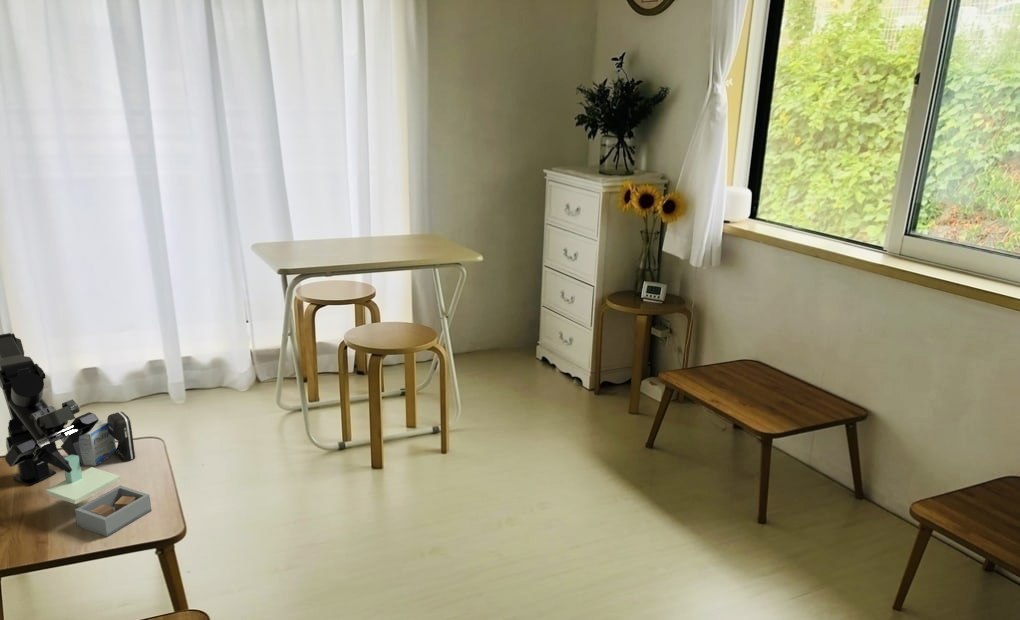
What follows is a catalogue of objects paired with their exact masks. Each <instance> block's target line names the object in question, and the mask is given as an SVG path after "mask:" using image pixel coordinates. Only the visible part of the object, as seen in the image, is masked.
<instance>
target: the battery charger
mask: <svg viewBox="0 0 1020 620" xmlns="http://www.w3.org/2000/svg"><path fill="white" fill-rule="evenodd" d="M106 421H107V424H108V432H109V433H110V435H112V436H113V437H114V438H115V441H117V445H116V451H115V453H114V455H115V456H116V457H117V458H118V459H119V460H120V461H121V462H126V461H132V460H134V459H135V458H136V453H135V444H134V437H133V436H134V435H133V431H132V430H133V429H132V423H131V420H130V417H129V416H128V415H127V414H125V412H123V411H117V412H115V413H111V414H109V415H108V416H107V419H106Z"/></svg>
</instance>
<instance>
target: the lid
mask: <svg viewBox="0 0 1020 620" xmlns="http://www.w3.org/2000/svg"><path fill="white" fill-rule="evenodd" d="M64 459H65V460H66V461H67V463H68V464H69V465H70V467H71V469H72V471H71V472H70V473H68V472H66V471H64V470H63V472H64V477H65V480H63V481H61V482H59V483H57V484H55V485H53V486H51V487H48V488H46V489H45V492H46V495H48V496H51V497H54V498H57V499H59V500H63V501H65V502H68V503H71V504H74V505H77V504H80V503H81V502H83V501H84V500H86V499H89V498H90V497H92V496H93V495H96V494H98V493H99V492H101V491H103V490H105V489H106V488H109V487H111V486H112V485H114V484H116V483H118V482H120V481H121V480H122V479H121V475H119V474H115V473H111V472H108V471H105V470H103V469H100V468H95V467H93V466H91V467H89V468H88V469H87V468H86V469H84V470H82V467H80V462H79V456H77V455H74V454H71V455H67V456H65V457H64Z"/></svg>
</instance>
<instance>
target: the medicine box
mask: <svg viewBox="0 0 1020 620" xmlns="http://www.w3.org/2000/svg"><path fill="white" fill-rule="evenodd" d="M79 447H80V451H81V455H82V459H83V463H84V465H85V466H95V467H96V466H97V465H100V462H101V463H102V462H103V460H104V459H105V460H106V459H108V458H109V457H111V456H112V455H113V454H115V451H116V448H117V443H116V439H115V438H114V437H113V436H112V435H110V433H109V432H108V424H107V419H106V420H104V419H99V421H98V422H97V423H96V424H95V426H94V427H93V428H92V429H91V431H89V432H88V433H86V434H84V435H82V436H79ZM110 455H111V456H110ZM107 457H108V458H107ZM105 460H104V461H105ZM84 465H83V466H84Z"/></svg>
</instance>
